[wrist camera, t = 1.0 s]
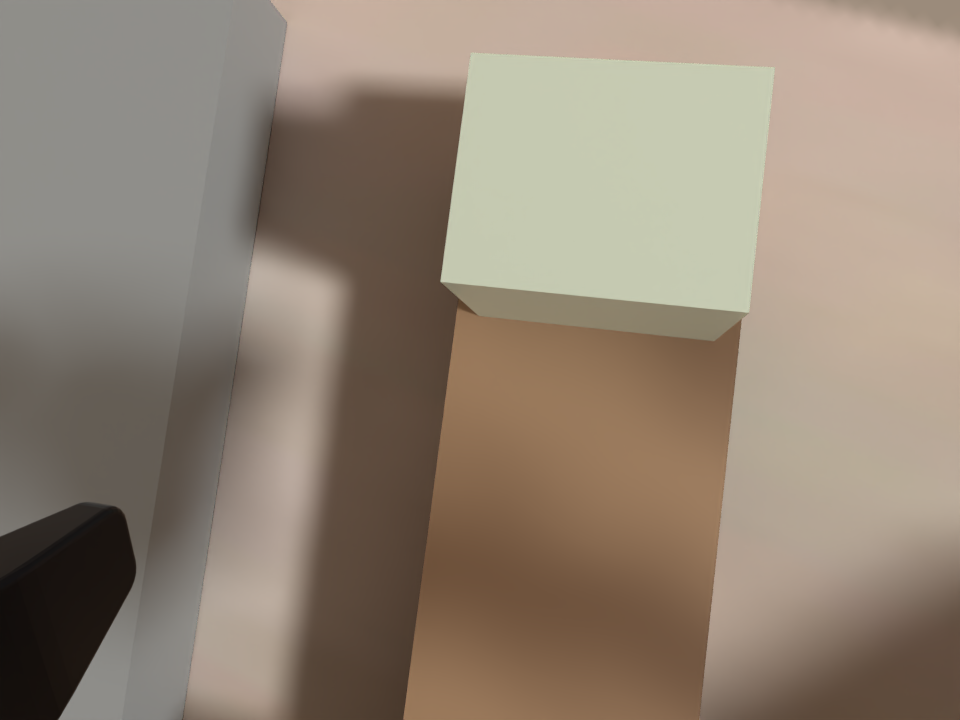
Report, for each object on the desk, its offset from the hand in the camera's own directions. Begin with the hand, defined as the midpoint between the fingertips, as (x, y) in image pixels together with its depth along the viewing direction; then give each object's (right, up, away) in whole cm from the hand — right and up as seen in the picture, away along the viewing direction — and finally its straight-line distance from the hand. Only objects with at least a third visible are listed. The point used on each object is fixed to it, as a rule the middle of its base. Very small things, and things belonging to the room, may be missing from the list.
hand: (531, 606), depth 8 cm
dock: (-12, +2, +15) cm, 20 cm away
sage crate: (+2, +5, +9) cm, 11 cm away
